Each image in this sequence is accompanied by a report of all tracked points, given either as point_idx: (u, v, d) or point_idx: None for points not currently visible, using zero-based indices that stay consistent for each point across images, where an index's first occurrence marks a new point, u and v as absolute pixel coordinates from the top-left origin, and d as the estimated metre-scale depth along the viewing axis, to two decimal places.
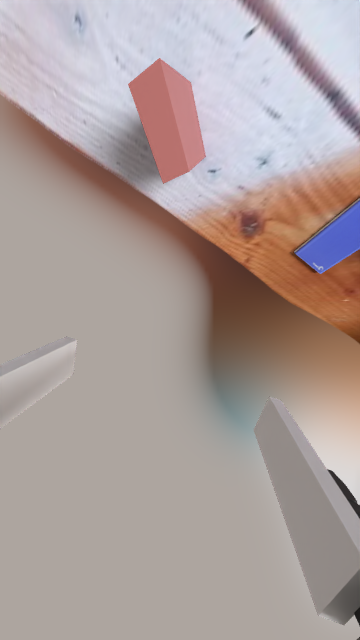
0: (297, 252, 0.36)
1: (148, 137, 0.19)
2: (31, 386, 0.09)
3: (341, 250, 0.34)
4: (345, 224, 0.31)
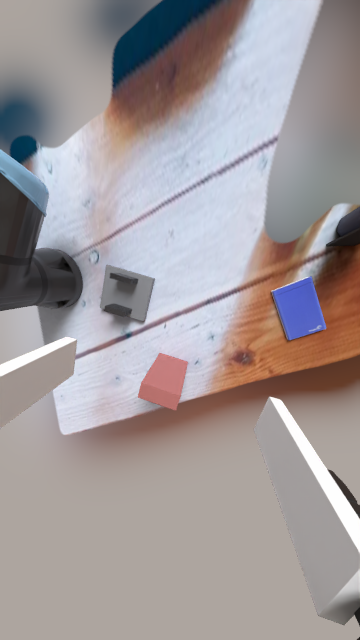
0: (289, 338, 0.40)
1: (155, 402, 0.34)
2: (31, 386, 0.09)
3: (310, 311, 0.38)
4: (286, 306, 0.39)
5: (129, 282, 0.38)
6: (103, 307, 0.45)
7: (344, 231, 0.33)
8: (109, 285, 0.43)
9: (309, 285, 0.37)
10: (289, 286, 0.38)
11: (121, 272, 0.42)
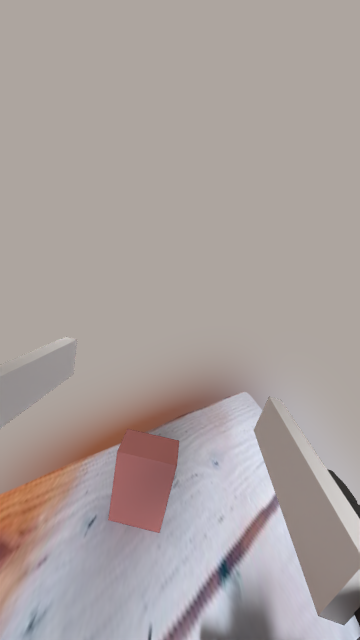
0: None
1: (154, 436, 0.26)
2: (31, 386, 0.09)
3: None
4: None
5: None
6: None
7: None
8: None
9: None
10: None
11: None
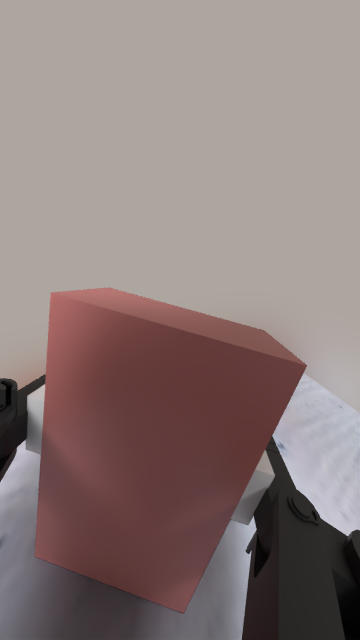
0: None
1: (188, 310, 0.08)
2: None
3: None
4: None
5: None
6: None
7: None
8: None
9: None
10: None
11: None
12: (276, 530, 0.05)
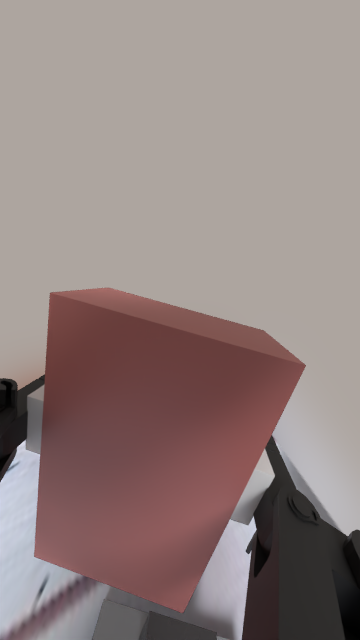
0: None
1: (187, 310, 0.08)
2: None
3: None
4: None
5: None
6: None
7: None
8: None
9: None
10: None
11: None
12: (276, 530, 0.05)
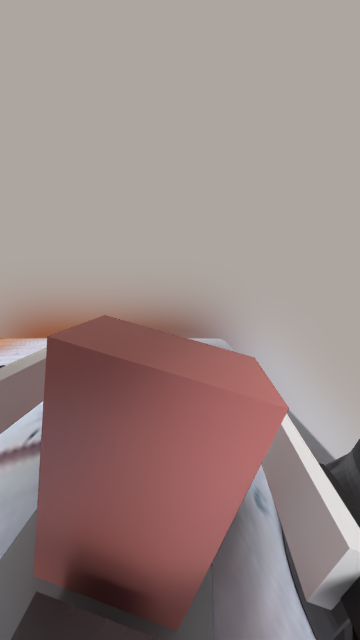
0: None
1: (181, 338, 0.09)
2: (39, 385, 0.09)
3: None
4: None
5: (35, 609, 0.06)
6: None
7: None
8: None
9: None
10: None
11: None
12: None
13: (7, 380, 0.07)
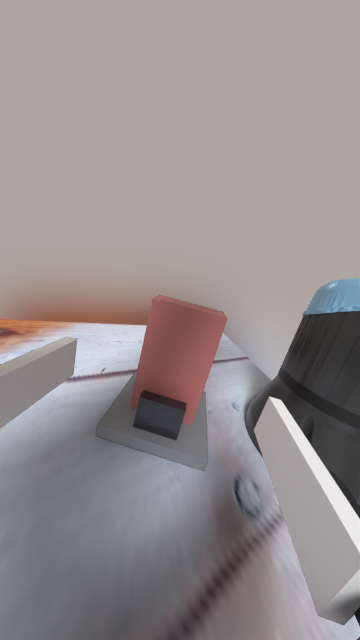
0: None
1: (192, 304, 0.21)
2: (31, 386, 0.09)
3: None
4: None
5: (144, 392, 0.19)
6: None
7: None
8: (195, 419, 0.22)
9: None
10: None
11: (170, 441, 0.18)
12: None
13: None
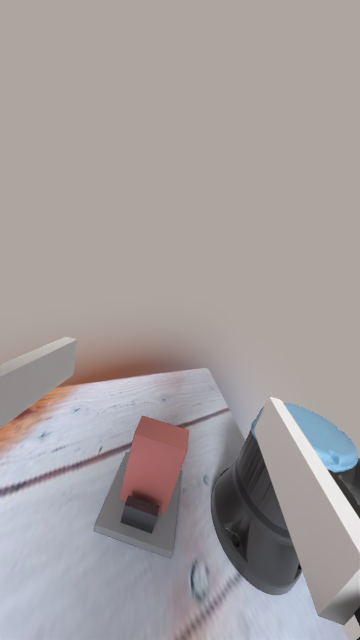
0: None
1: (166, 424, 0.28)
2: (31, 386, 0.09)
3: None
4: None
5: (128, 498, 0.26)
6: None
7: None
8: (169, 506, 0.29)
9: None
10: None
11: (147, 535, 0.26)
12: None
13: None
